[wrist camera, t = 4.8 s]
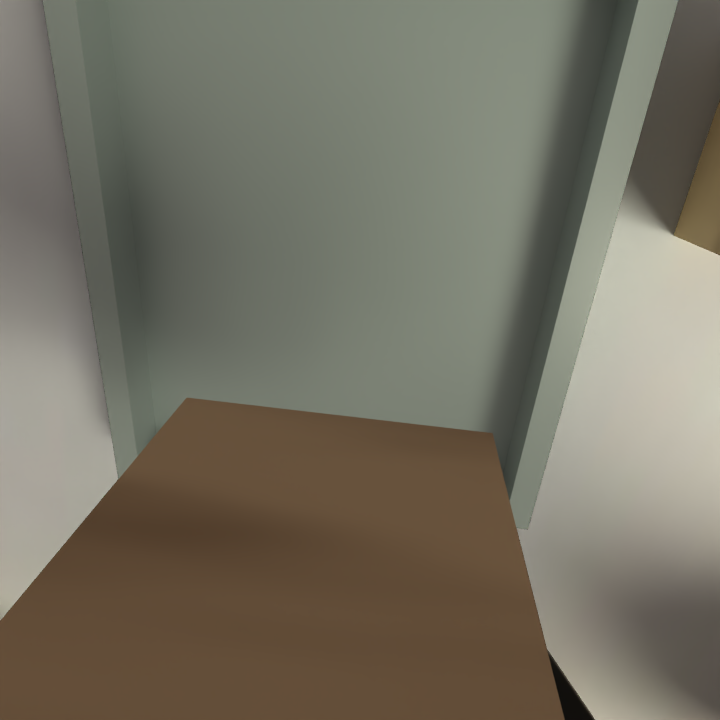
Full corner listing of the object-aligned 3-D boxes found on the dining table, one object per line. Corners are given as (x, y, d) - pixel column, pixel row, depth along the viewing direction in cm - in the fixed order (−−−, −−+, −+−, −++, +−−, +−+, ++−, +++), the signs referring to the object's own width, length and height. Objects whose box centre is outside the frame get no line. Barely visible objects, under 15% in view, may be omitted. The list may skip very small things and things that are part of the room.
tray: (659, -56, 12) (703, -88, 10) (516, 490, 19) (527, 529, 17) (78, -93, 13) (22, -129, 11) (145, 445, 19) (118, 478, 18)
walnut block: (446, 642, 10) (471, 1050, 6) (203, 608, 11) (45, 972, 6) (492, 432, 8) (589, 820, 4) (186, 397, 8) (-79, 716, 4)
